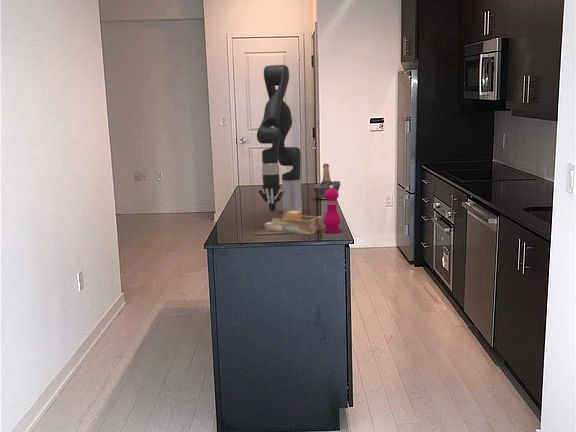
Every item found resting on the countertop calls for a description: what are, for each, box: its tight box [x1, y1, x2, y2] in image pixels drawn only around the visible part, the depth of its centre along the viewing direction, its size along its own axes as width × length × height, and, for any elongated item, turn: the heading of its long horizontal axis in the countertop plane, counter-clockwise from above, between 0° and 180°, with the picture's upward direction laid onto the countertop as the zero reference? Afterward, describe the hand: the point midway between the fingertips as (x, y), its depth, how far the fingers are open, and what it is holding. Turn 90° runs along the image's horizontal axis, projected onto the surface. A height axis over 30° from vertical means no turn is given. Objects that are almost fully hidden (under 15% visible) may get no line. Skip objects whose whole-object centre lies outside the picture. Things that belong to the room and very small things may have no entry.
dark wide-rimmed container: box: [313, 163, 341, 199], centre depth 347 cm, size 15×17×20 cm
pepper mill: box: [323, 185, 341, 234], centre depth 262 cm, size 7×7×20 cm
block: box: [286, 210, 303, 220], centre depth 269 cm, size 5×5×5 cm
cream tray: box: [263, 214, 324, 235], centre depth 269 cm, size 11×23×6 cm, turn 61°
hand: (272, 211), depth 274 cm, fingers closed
